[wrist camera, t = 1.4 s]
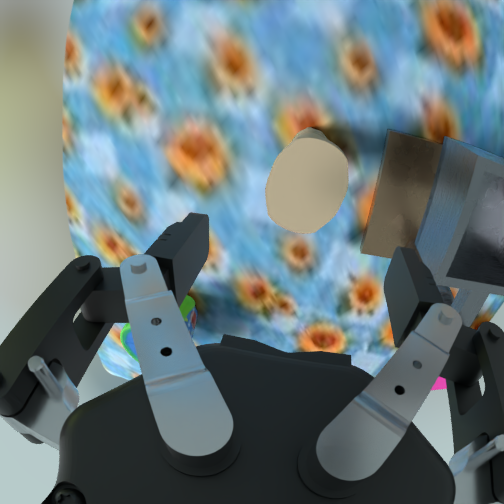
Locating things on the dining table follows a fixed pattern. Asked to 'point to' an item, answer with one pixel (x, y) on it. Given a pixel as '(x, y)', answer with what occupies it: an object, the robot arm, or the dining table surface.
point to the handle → (307, 183)
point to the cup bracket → (442, 215)
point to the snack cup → (187, 313)
